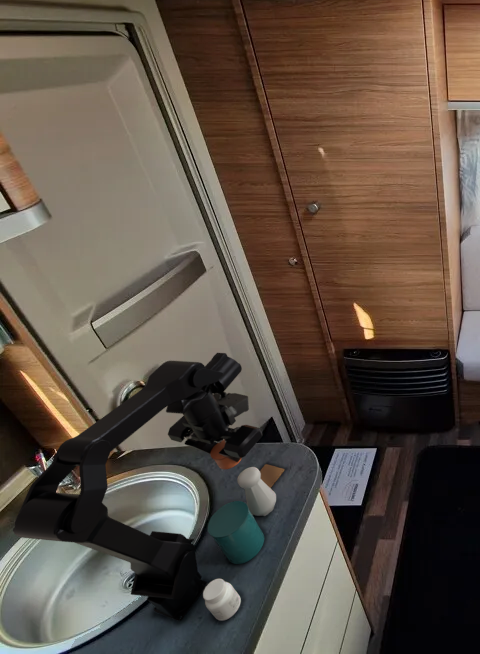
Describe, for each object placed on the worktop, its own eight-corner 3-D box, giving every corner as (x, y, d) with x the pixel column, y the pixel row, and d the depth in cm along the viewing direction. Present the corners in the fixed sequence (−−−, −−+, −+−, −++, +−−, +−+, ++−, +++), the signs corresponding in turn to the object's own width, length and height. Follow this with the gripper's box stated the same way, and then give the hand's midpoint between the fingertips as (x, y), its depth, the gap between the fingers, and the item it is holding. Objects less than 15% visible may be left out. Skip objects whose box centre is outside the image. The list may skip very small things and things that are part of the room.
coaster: (268, 490, 99) (268, 489, 99) (249, 485, 101) (248, 484, 100) (284, 470, 104) (284, 469, 104) (266, 464, 105) (265, 463, 105)
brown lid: (231, 472, 90) (224, 461, 88) (211, 467, 91) (204, 456, 89) (248, 452, 94) (242, 441, 92) (230, 447, 95) (223, 436, 93)
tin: (247, 569, 85) (228, 541, 79) (219, 559, 87) (198, 531, 81) (272, 533, 91) (256, 505, 85) (245, 525, 93) (227, 497, 87)
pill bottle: (237, 588, 82) (223, 569, 78) (244, 607, 80) (230, 589, 76) (212, 607, 80) (196, 588, 76) (218, 627, 77) (203, 609, 73)
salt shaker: (271, 520, 93) (253, 487, 87) (246, 520, 94) (226, 487, 87) (283, 495, 98) (266, 462, 92) (259, 495, 98) (241, 461, 92)
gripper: (268, 390, 89) (289, 436, 97) (198, 374, 93) (223, 420, 101) (227, 432, 79) (254, 480, 88) (151, 413, 83) (183, 460, 92)
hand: (229, 457), depth 92 cm, fingers closed on brown lid, 5 cm apart
